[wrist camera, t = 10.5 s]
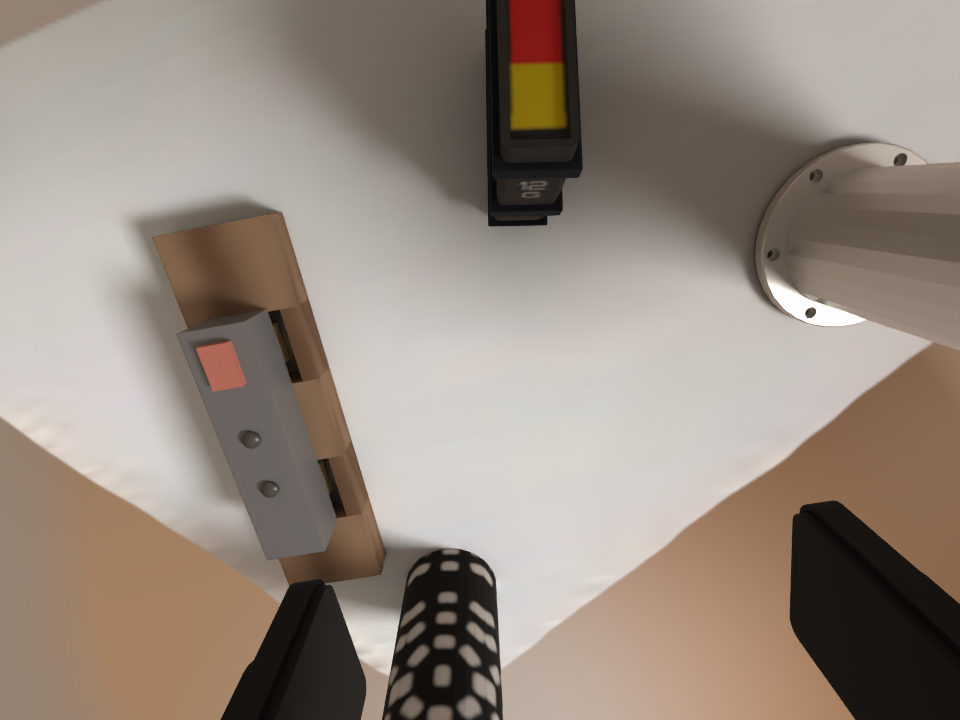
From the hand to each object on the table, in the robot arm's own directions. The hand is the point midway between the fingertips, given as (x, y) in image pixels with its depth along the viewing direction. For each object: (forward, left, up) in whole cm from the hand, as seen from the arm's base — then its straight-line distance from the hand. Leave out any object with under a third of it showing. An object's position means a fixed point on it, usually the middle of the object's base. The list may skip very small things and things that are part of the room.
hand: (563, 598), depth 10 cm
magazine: (-3, -12, -28) cm, 31 cm away
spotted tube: (+9, +26, -28) cm, 39 cm away
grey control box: (+18, +6, -28) cm, 34 cm away
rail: (+18, +6, -28) cm, 34 cm away
